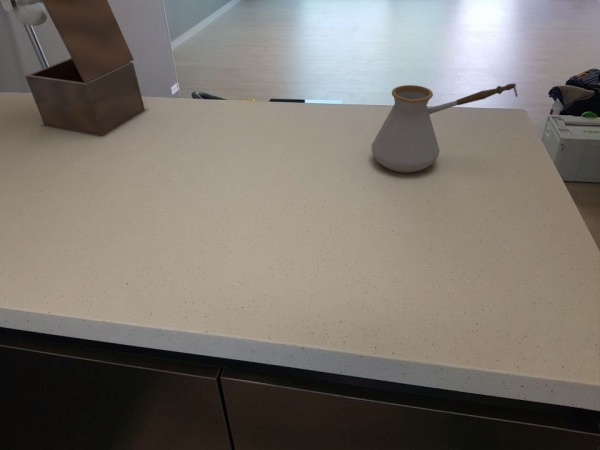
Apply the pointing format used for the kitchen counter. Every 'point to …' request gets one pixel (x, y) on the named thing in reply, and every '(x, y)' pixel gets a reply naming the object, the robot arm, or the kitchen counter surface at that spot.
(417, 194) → the kitchen counter surface
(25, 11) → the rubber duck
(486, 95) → the coffee pot
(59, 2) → the lid
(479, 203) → the kitchen counter surface
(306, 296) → the kitchen counter surface
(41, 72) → the chest
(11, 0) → the robot arm
